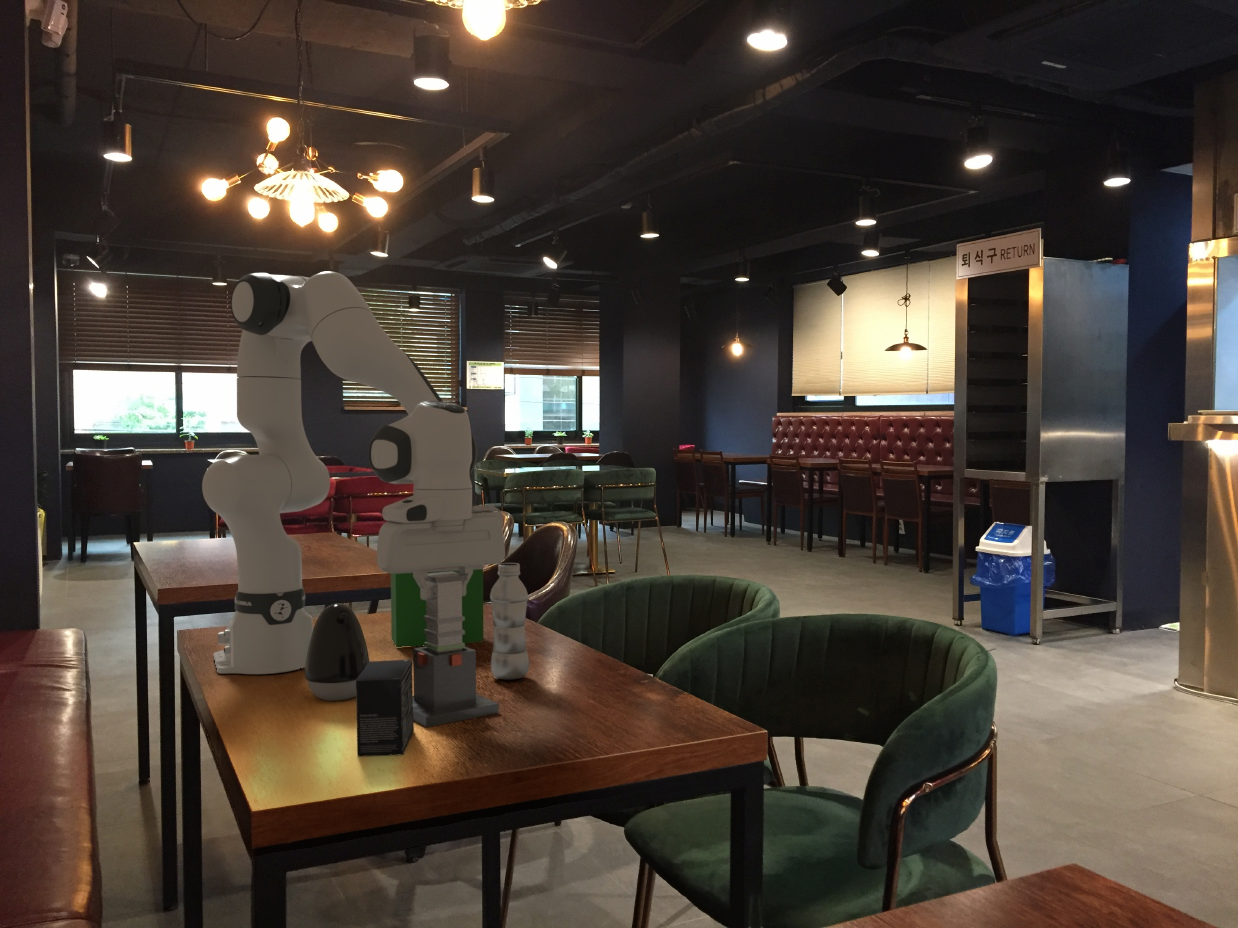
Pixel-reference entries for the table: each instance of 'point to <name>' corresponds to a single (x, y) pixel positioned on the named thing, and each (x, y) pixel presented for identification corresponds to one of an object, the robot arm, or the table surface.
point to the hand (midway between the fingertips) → (443, 597)
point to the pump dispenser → (336, 654)
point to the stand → (447, 688)
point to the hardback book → (413, 609)
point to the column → (444, 613)
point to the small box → (384, 708)
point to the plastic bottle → (509, 624)
